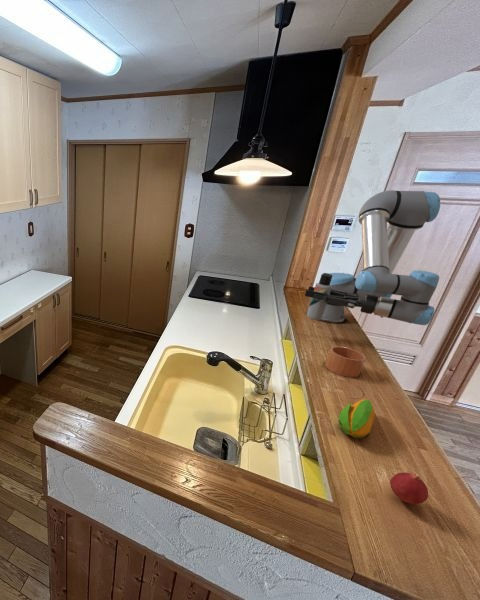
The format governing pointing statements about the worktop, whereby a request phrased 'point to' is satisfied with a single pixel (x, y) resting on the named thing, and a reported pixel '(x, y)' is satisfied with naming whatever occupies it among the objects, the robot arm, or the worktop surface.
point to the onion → (409, 488)
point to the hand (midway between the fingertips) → (307, 291)
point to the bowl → (345, 361)
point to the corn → (357, 418)
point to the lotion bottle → (319, 305)
